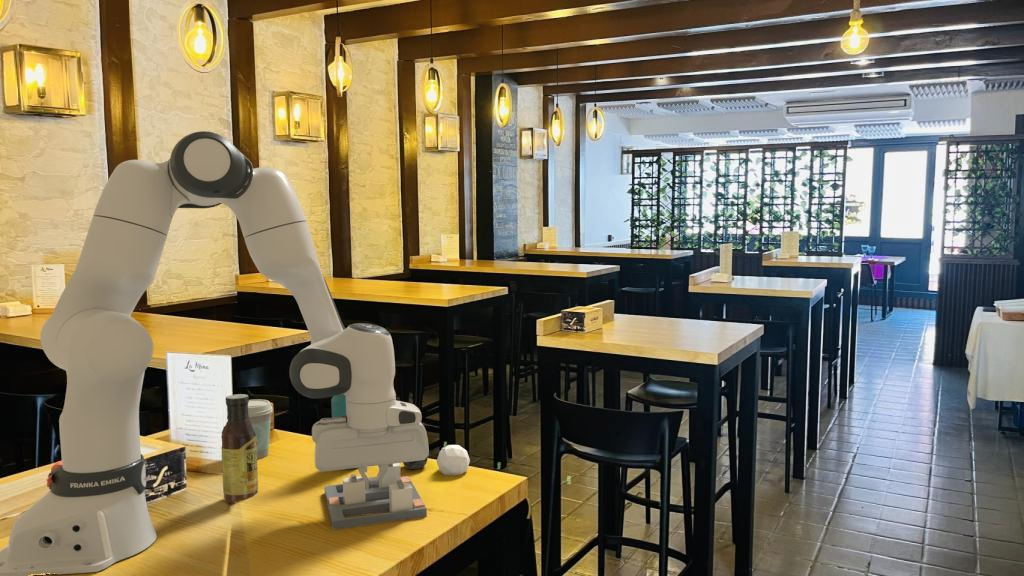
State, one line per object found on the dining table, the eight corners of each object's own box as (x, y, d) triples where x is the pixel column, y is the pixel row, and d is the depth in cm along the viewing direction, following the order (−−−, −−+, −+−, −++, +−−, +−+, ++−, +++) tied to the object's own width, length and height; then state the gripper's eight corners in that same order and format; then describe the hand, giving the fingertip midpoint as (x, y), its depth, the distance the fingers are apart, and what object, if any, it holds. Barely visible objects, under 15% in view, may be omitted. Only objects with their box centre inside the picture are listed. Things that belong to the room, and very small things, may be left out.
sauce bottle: (255, 504, 134) (250, 399, 132) (220, 506, 133) (215, 401, 131) (261, 491, 141) (257, 391, 139) (228, 493, 140) (223, 393, 138)
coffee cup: (226, 461, 158) (224, 407, 157) (247, 448, 167) (244, 398, 166) (262, 462, 157) (260, 409, 156) (281, 450, 165) (279, 399, 164)
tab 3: (392, 518, 125) (391, 487, 124) (389, 512, 127) (388, 481, 127) (412, 515, 126) (412, 484, 125) (409, 509, 128) (409, 479, 128)
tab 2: (381, 493, 136) (381, 464, 135) (379, 488, 139) (378, 460, 138) (400, 491, 137) (400, 462, 137) (398, 486, 140) (397, 458, 139)
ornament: (471, 481, 145) (450, 456, 142) (444, 487, 148) (424, 463, 145) (479, 456, 150) (460, 432, 147) (454, 463, 153) (434, 440, 150)
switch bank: (332, 535, 120) (332, 519, 120) (324, 498, 136) (324, 484, 136) (426, 522, 126) (426, 506, 125) (408, 488, 142) (408, 474, 141)
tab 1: (345, 511, 128) (344, 480, 127) (343, 505, 131) (342, 475, 130) (365, 508, 129) (364, 478, 129) (363, 502, 132) (362, 472, 131)
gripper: (312, 424, 123) (315, 502, 124) (430, 412, 130) (431, 487, 131) (310, 414, 129) (313, 489, 130) (422, 404, 135) (424, 475, 137)
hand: (373, 488), depth 131 cm, fingers closed
